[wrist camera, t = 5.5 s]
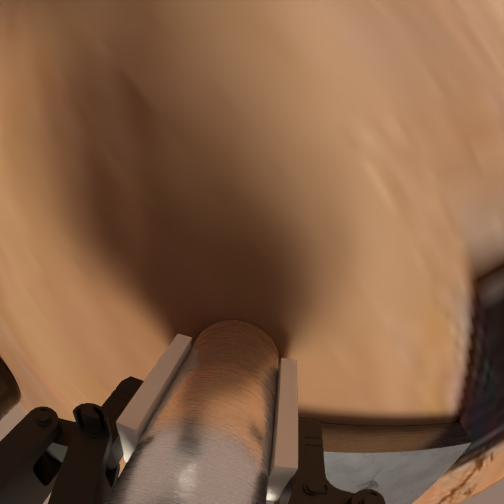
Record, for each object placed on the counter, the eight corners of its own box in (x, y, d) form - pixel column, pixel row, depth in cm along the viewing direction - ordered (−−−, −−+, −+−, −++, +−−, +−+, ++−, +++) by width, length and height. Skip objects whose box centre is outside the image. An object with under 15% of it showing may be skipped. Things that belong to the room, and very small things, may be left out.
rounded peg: (191, 377, 16) (114, 537, 5) (199, 310, 15) (80, 489, 4) (268, 395, 15) (243, 572, 5) (287, 330, 14) (276, 547, 4)
